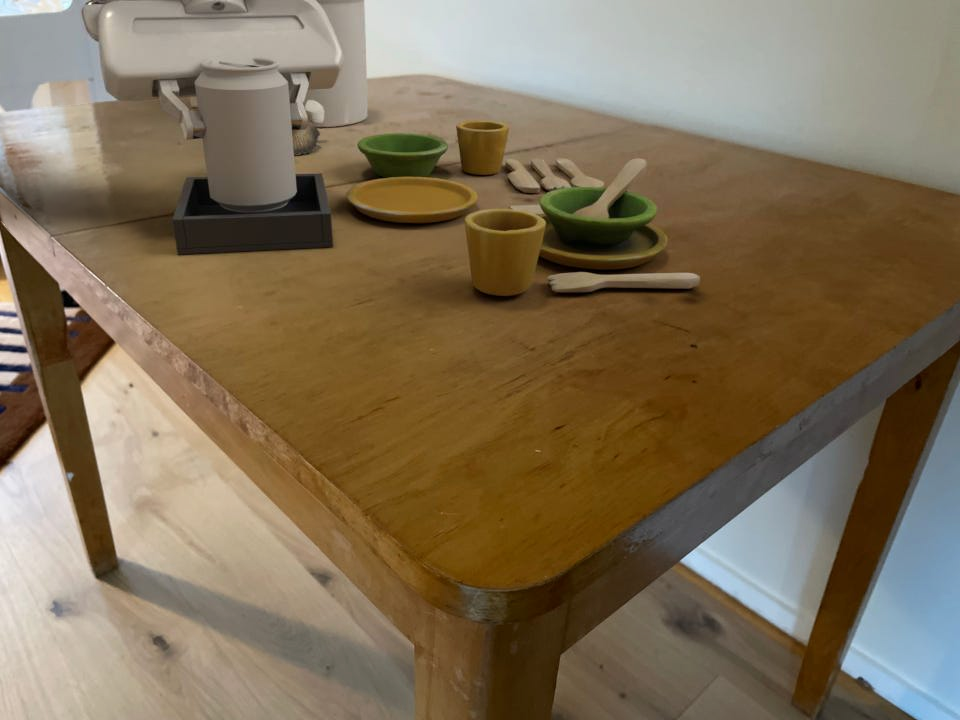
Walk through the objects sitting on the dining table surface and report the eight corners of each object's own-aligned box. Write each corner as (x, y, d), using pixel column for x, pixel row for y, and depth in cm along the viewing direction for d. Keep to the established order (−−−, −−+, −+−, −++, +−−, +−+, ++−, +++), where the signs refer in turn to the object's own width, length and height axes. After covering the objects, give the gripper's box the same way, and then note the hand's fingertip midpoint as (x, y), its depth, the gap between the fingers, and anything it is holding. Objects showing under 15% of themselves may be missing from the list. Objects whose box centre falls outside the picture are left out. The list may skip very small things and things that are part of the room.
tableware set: (715, 298, 60) (731, 219, 57) (350, 311, 56) (345, 226, 53) (575, 160, 96) (580, 107, 93) (345, 162, 91) (342, 106, 88)
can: (314, 203, 70) (304, 62, 64) (240, 221, 65) (222, 69, 59) (267, 185, 74) (253, 51, 69) (194, 201, 69) (173, 58, 64)
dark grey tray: (177, 254, 64) (172, 219, 63) (190, 207, 75) (186, 177, 73) (332, 247, 67) (330, 213, 65) (324, 203, 78) (322, 173, 76)
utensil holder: (322, 134, 104) (313, -12, 95) (243, 118, 110) (228, -19, 102) (391, 116, 115) (388, -15, 106) (315, 103, 121) (307, -22, 113)
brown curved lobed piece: (257, 128, 100) (244, 131, 91) (285, 80, 98) (274, 77, 90) (309, 162, 102) (301, 168, 93) (338, 115, 100) (332, 116, 92)
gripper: (73, -34, 61) (117, 118, 59) (321, -31, 71) (368, 100, 68) (78, 22, 67) (118, 163, 64) (307, 18, 76) (351, 141, 74)
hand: (249, 130), depth 66 cm, fingers closed on can, 7 cm apart
